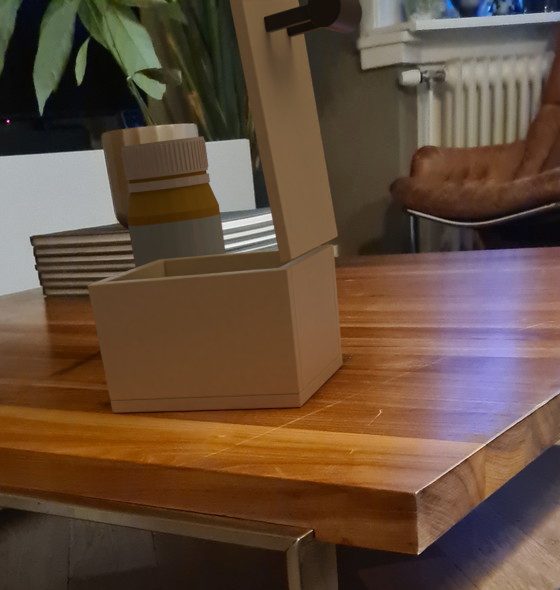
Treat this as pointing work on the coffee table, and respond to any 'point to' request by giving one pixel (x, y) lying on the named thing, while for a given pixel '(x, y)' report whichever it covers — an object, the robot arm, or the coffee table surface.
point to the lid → (290, 112)
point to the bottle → (171, 201)
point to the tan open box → (219, 331)
